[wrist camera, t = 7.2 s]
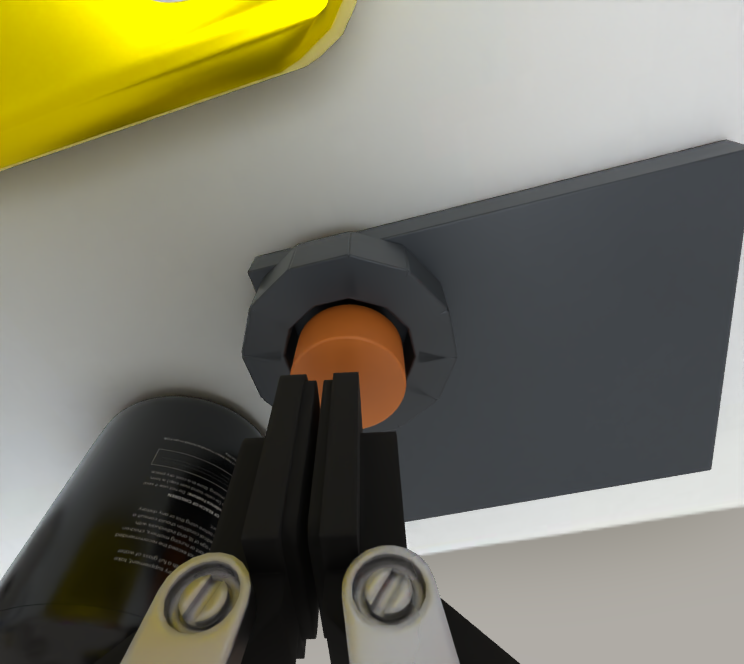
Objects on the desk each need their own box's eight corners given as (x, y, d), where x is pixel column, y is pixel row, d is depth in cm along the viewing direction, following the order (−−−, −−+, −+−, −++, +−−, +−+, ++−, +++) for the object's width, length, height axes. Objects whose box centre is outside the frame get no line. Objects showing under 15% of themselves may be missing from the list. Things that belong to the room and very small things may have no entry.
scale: (346, 509, 21) (342, 573, 19) (236, 246, 15) (208, 288, 13) (693, 447, 19) (743, 509, 17) (729, 122, 13) (815, 140, 11)
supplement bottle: (68, 418, 19) (-310, 886, 8) (225, 366, 17) (13, 837, 7) (167, 528, 22) (-15, 962, 12) (306, 491, 21) (241, 937, 10)
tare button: (316, 400, 15) (310, 440, 13) (282, 317, 13) (271, 351, 12) (412, 380, 15) (416, 419, 13) (389, 292, 13) (391, 324, 12)
